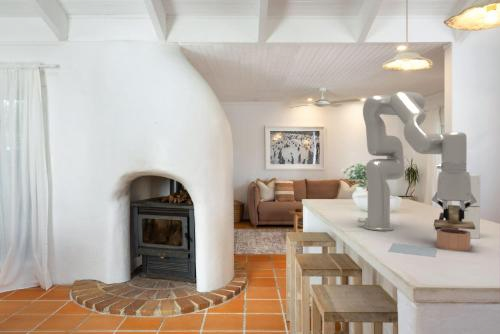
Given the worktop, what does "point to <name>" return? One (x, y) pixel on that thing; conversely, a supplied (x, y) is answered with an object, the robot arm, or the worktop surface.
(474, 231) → the cylindrical container
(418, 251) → the slate mat
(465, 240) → the terracotta bowl
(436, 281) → the worktop surface
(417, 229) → the worktop surface
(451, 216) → the square wooden lid
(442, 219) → the portable electronic device stand
